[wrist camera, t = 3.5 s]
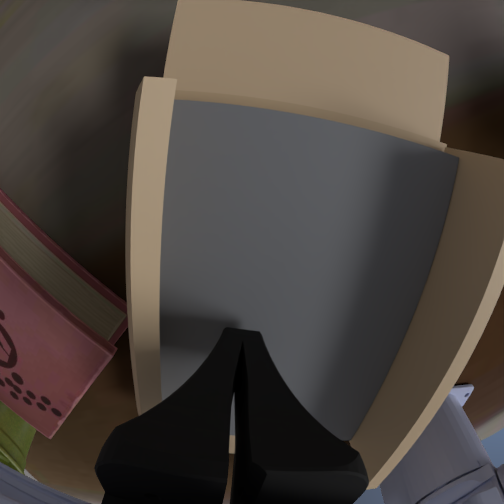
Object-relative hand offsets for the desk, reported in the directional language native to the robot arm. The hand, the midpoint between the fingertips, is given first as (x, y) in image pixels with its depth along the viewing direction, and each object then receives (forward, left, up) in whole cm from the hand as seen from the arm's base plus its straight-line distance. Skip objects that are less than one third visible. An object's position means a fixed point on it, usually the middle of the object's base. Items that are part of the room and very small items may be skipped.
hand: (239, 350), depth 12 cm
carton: (+1, -1, -7) cm, 7 cm away
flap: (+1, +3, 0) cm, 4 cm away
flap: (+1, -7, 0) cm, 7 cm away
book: (-6, +17, -8) cm, 19 cm away
